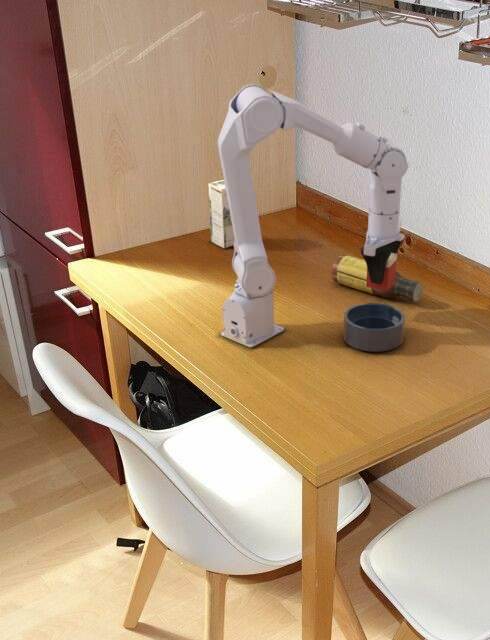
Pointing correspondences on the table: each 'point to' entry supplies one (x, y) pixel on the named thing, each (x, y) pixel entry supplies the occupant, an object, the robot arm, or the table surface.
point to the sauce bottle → (355, 276)
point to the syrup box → (220, 215)
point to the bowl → (373, 327)
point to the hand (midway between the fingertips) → (380, 278)
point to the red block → (385, 275)
